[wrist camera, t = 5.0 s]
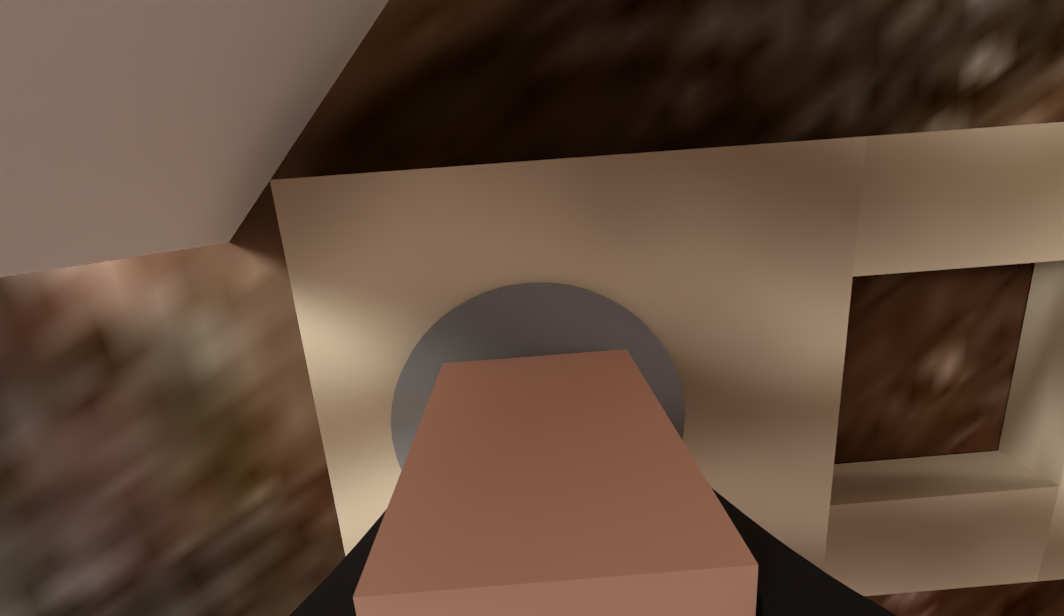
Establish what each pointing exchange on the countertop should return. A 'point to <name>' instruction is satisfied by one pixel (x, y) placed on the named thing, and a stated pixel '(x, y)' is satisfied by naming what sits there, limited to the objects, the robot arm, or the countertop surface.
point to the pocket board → (704, 323)
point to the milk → (153, 117)
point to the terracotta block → (553, 502)
